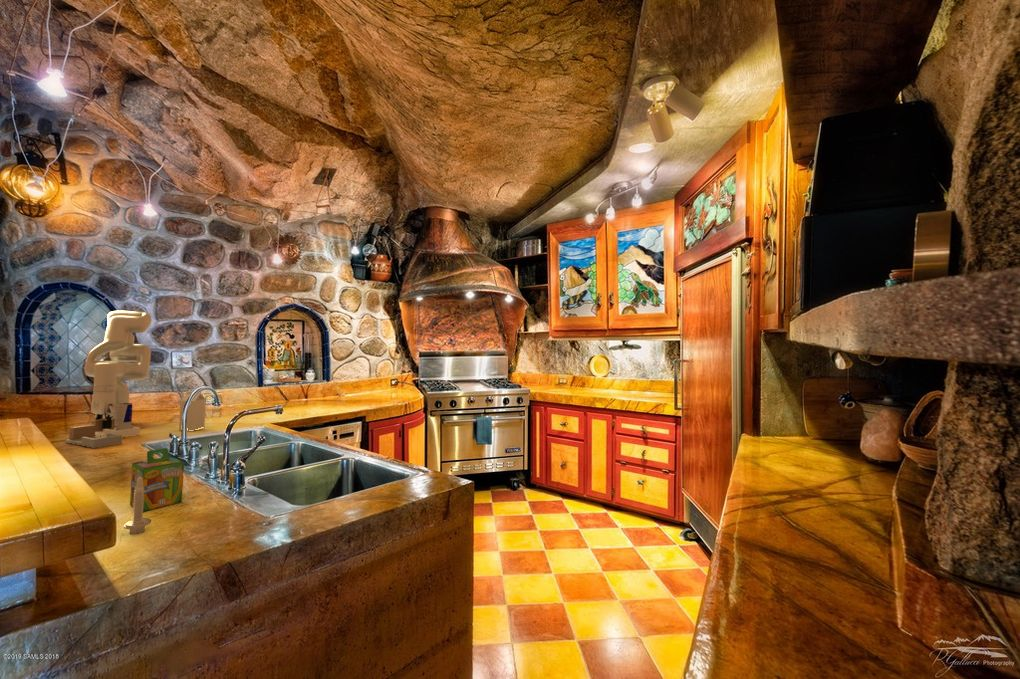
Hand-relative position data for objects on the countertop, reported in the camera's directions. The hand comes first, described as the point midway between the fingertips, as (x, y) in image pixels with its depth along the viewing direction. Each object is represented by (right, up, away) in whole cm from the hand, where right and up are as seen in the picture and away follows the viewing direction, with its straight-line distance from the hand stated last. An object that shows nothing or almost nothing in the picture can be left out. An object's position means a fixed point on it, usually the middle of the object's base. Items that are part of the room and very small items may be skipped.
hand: (103, 427), depth 190 cm
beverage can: (+14, -3, -5) cm, 15 cm away
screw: (+101, -5, -93) cm, 138 cm away
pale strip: (+8, -3, -3) cm, 9 cm away
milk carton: (+32, -4, +12) cm, 34 cm away
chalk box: (+91, -5, -77) cm, 119 cm away
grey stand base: (+14, -3, -18) cm, 23 cm away
